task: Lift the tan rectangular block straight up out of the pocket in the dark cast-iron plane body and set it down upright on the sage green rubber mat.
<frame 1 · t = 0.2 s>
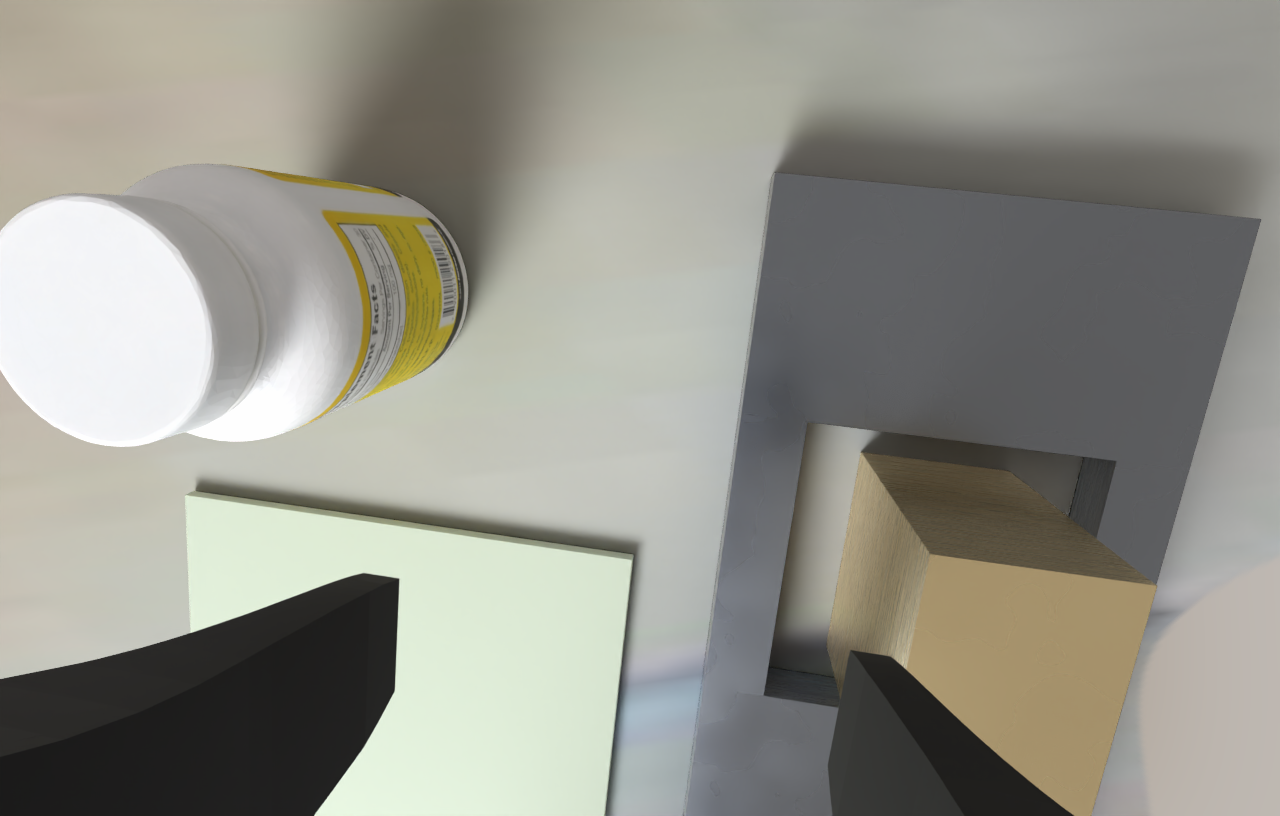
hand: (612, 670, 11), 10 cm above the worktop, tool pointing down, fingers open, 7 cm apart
sage mat: (400, 747, 24), on the worktop
iron frame: (914, 562, 21), on the worktop
supplement bottle: (385, 287, 21), on the worktop
tan rectangular block: (913, 561, 21), resting in iron frame
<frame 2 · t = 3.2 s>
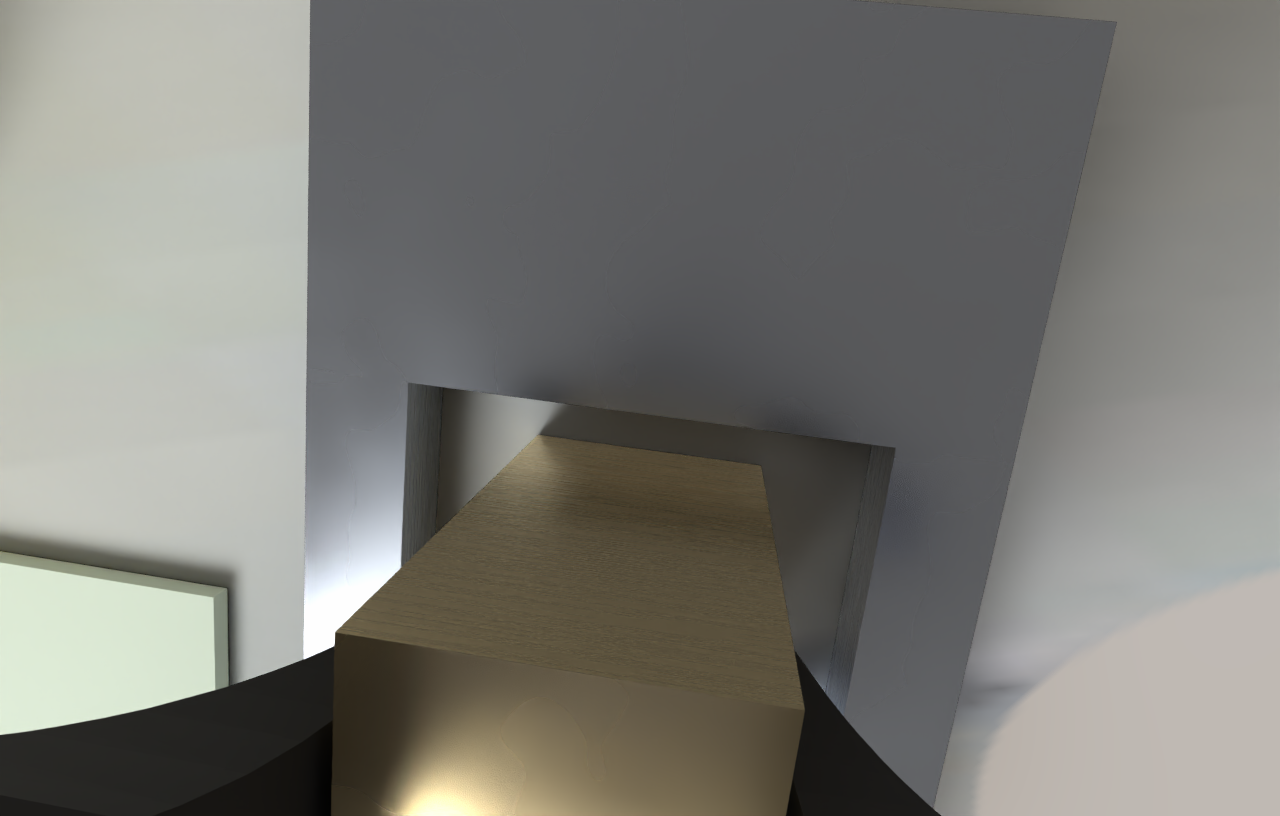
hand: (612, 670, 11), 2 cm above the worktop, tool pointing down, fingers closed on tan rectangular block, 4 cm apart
iron frame: (629, 604, 13), on the worktop
tan rectangular block: (629, 603, 13), resting in iron frame, touching gripper
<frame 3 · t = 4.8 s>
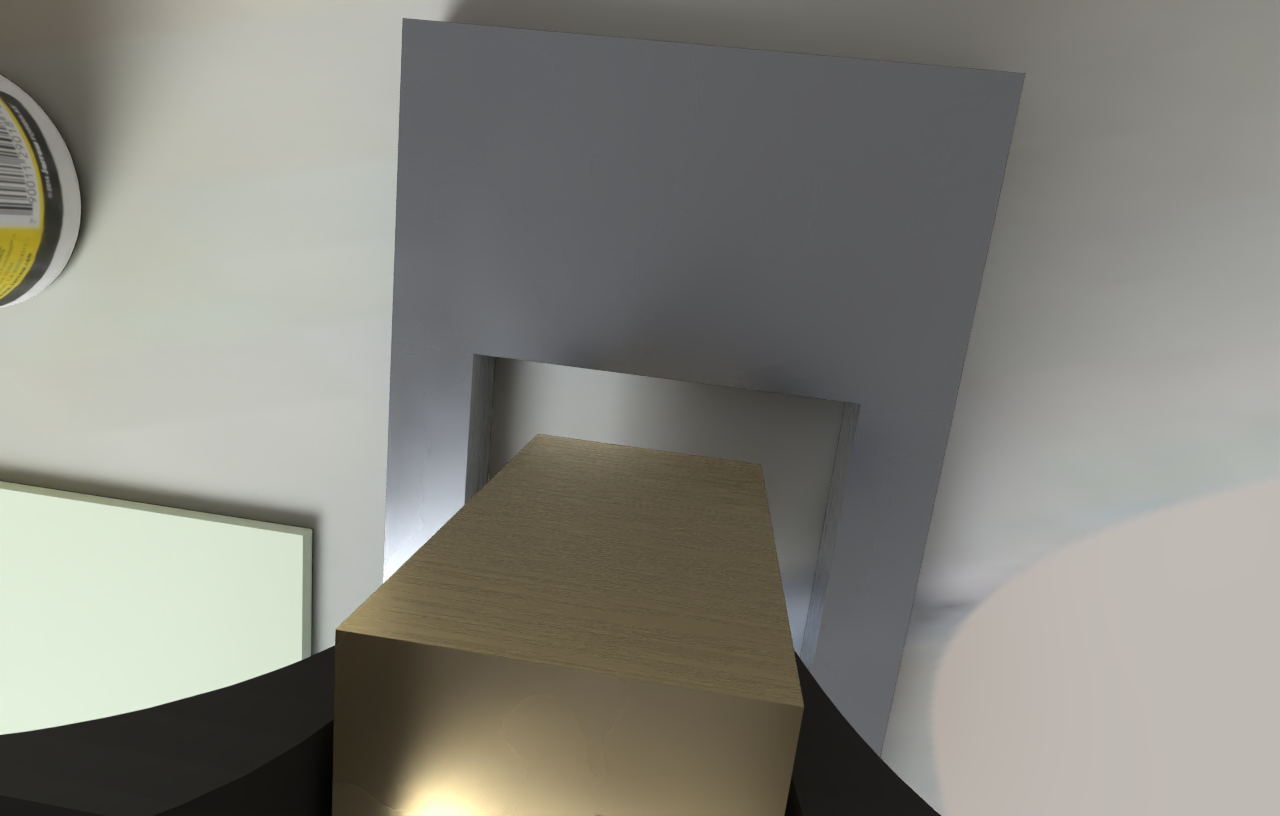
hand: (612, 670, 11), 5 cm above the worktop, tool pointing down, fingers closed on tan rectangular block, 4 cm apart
sage mat: (65, 765, 20), on the worktop
iron frame: (647, 539, 16), on the worktop
tan rectangular block: (629, 602, 14), point 3 cm above the worktop, touching gripper
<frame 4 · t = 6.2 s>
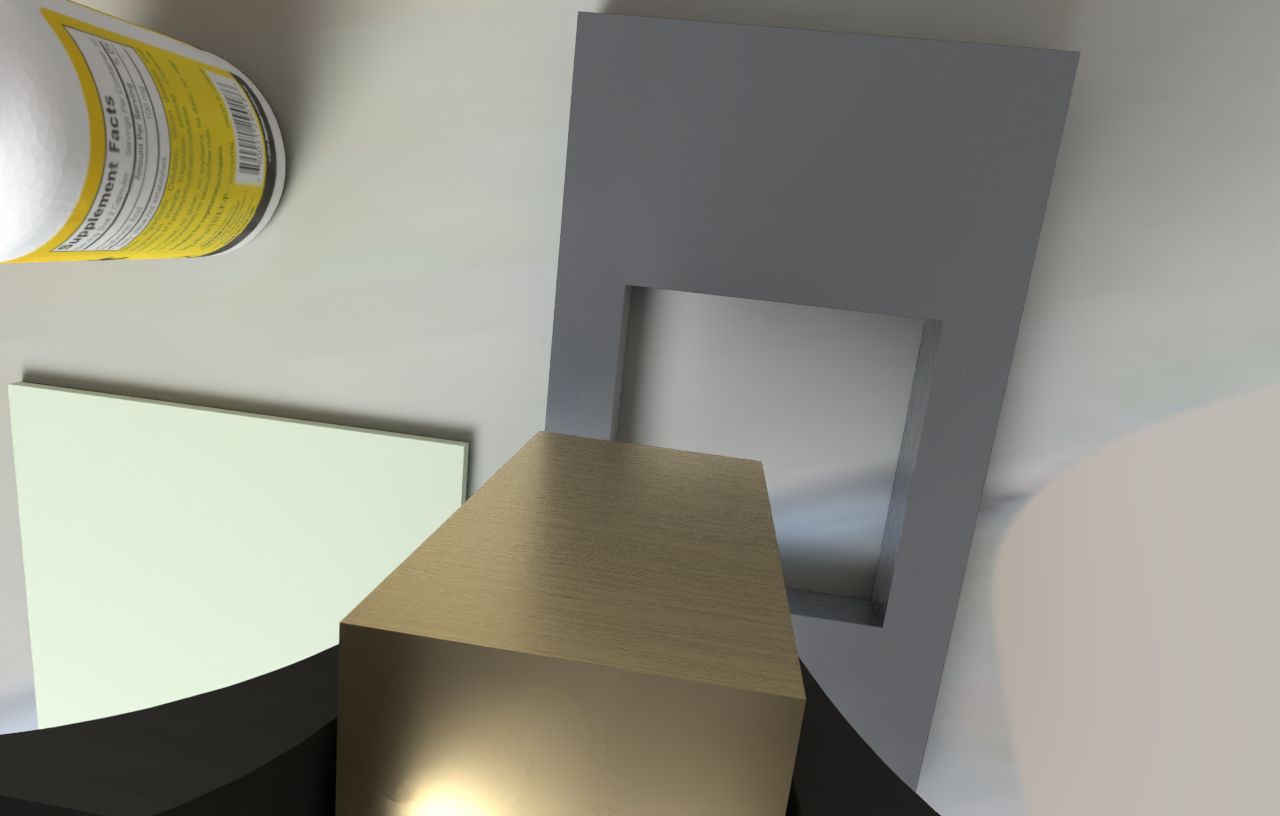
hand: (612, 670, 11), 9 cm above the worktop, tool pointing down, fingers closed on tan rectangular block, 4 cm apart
sage mat: (242, 655, 23), on the worktop
iron frame: (755, 445, 20), on the worktop
supplement bottle: (205, 159, 20), on the worktop
tan rectangular block: (631, 599, 14), point 7 cm above the worktop, touching gripper
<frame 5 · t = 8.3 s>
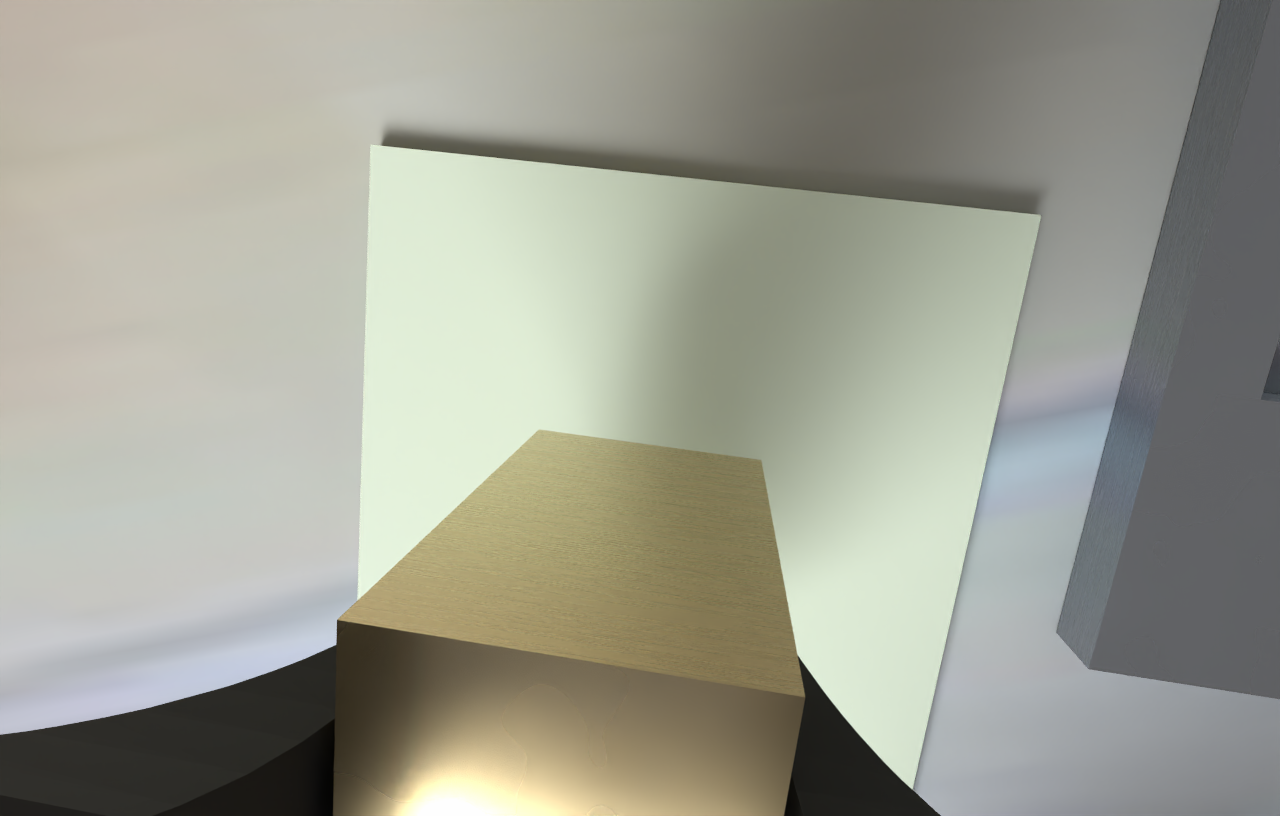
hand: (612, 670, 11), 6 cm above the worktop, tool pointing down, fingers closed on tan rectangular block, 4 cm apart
sage mat: (650, 530, 17), on the worktop
tan rectangular block: (630, 598, 14), point 4 cm above the worktop, touching gripper
when the fingers open (4 cm above the worktop, at t = 9.6 s): tan rectangular block drops 1 cm, resting on sage mat.
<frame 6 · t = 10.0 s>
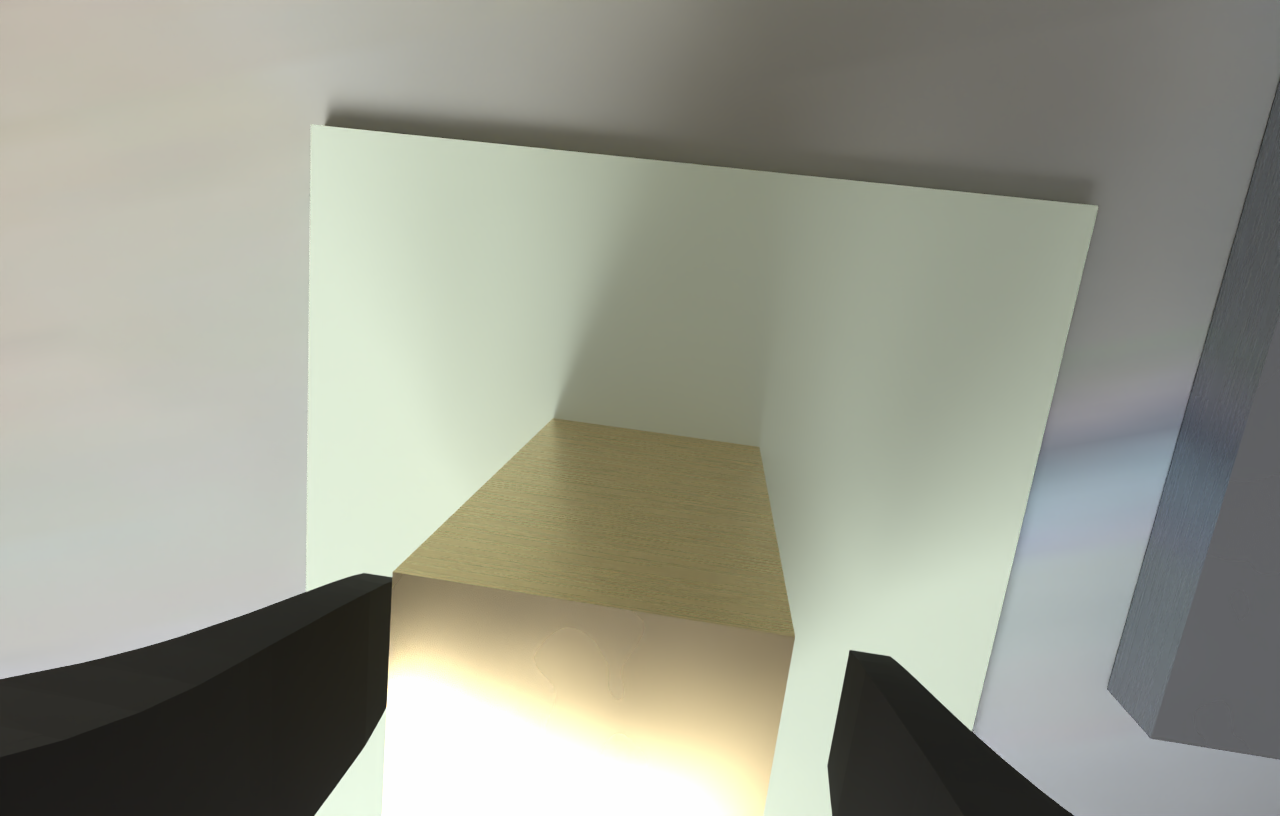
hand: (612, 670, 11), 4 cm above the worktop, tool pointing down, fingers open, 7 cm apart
sage mat: (639, 570, 15), on the worktop
tan rectangular block: (637, 576, 15), resting on sage mat
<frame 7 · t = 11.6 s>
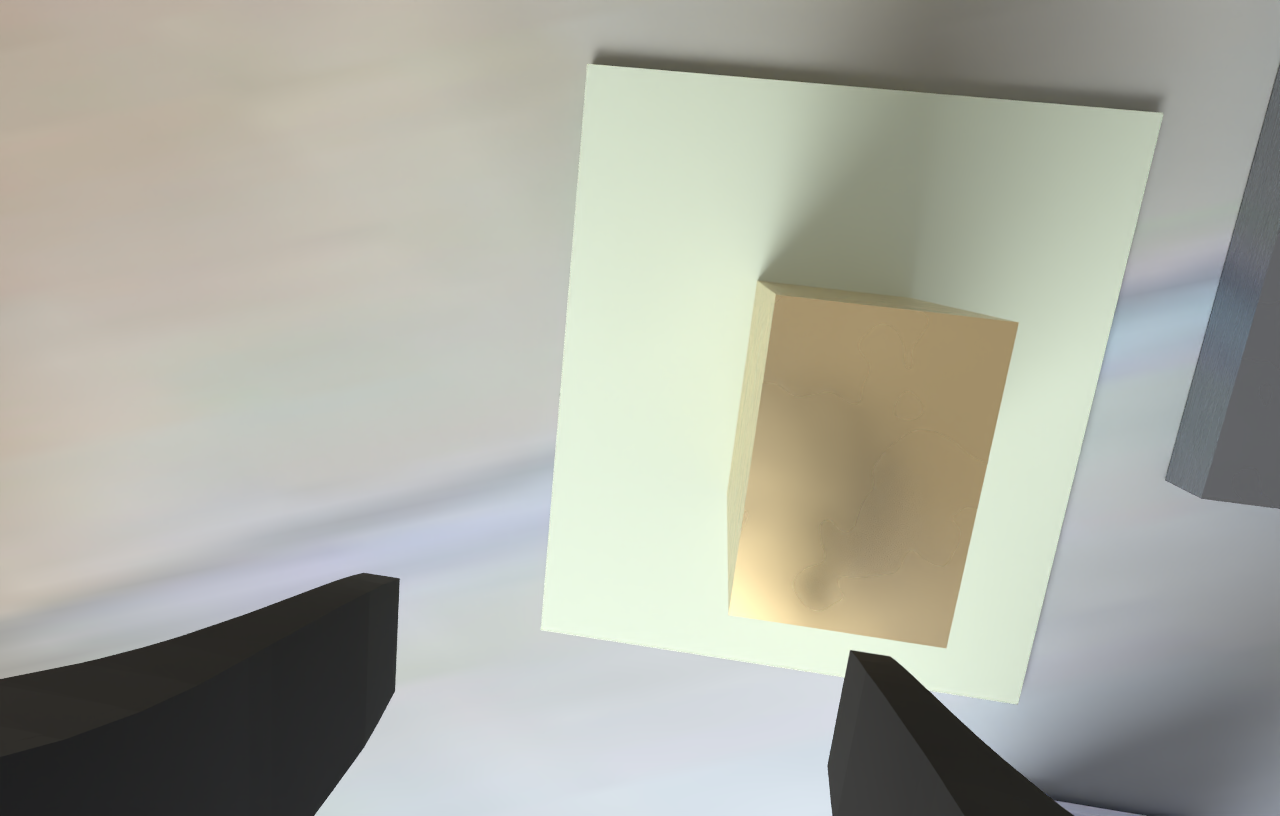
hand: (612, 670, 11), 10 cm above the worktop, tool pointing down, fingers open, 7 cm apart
sage mat: (813, 399, 20), on the worktop
tan rectangular block: (815, 400, 20), resting on sage mat
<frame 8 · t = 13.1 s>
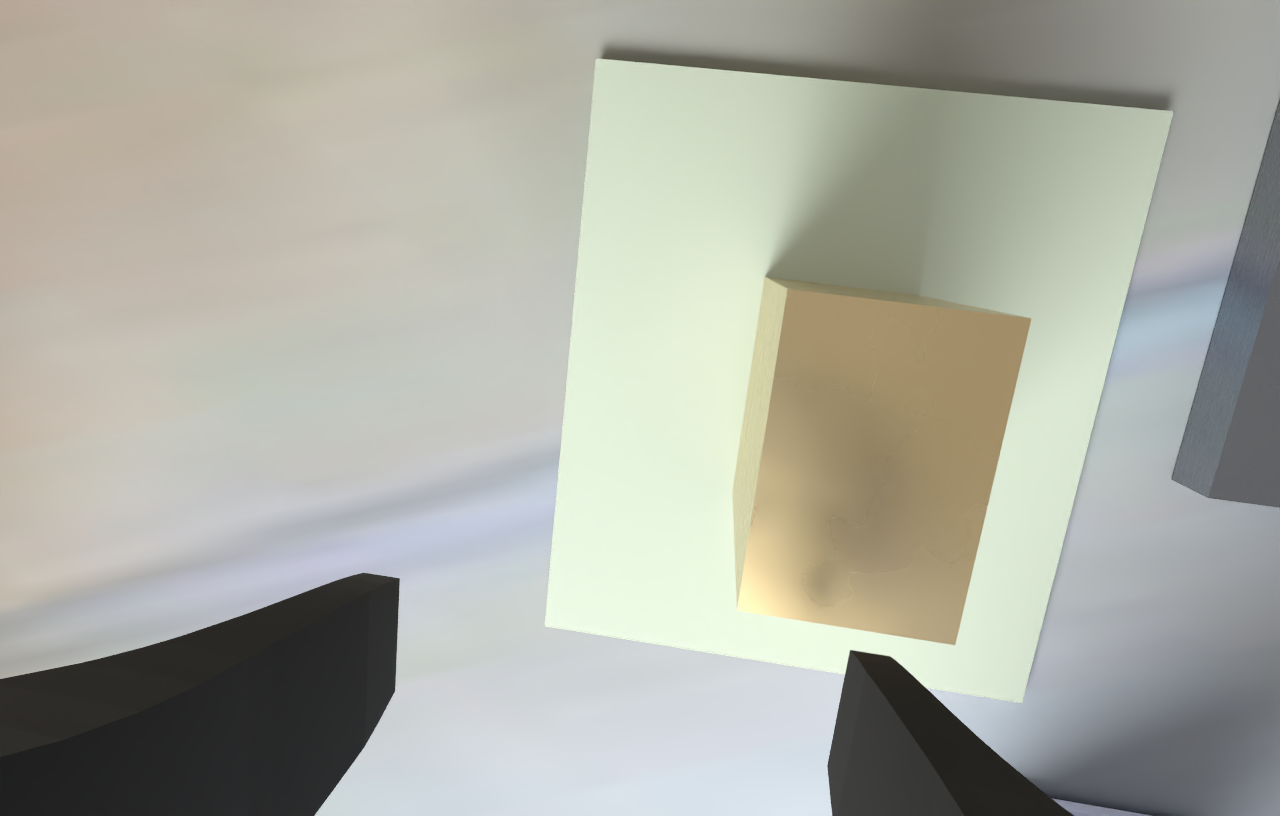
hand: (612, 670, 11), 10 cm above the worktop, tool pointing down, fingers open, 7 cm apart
sage mat: (819, 396, 20), on the worktop
tan rectangular block: (821, 397, 20), resting on sage mat
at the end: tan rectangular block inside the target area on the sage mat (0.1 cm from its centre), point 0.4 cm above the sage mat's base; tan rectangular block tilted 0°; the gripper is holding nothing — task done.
